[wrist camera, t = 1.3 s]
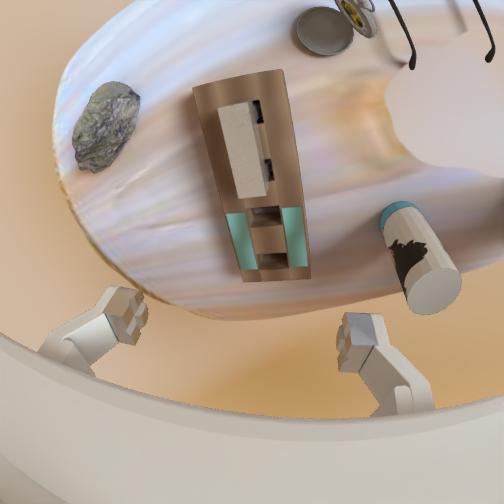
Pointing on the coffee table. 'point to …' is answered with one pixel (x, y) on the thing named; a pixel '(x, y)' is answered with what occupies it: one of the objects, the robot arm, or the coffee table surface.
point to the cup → (419, 259)
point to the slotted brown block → (280, 179)
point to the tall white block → (245, 148)
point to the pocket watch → (335, 26)
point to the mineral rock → (105, 126)
